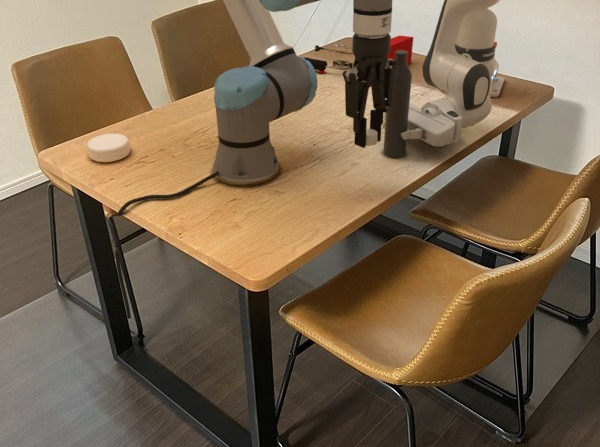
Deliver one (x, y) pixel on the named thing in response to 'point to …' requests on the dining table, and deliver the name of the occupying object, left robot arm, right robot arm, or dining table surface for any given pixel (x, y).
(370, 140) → the cap
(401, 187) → the dining table surface
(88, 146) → the white round disc
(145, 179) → the dining table surface
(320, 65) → the electric hoist
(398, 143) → the bottle
